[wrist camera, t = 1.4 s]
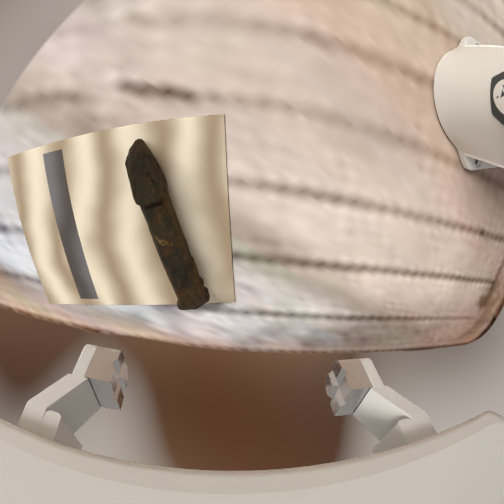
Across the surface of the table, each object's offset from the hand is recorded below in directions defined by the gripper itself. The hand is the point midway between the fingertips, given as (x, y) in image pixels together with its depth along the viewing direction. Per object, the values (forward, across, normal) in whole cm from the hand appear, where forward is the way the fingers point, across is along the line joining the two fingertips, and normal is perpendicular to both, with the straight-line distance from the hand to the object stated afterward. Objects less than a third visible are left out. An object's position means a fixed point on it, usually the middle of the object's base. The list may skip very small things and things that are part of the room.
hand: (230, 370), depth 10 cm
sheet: (+23, +13, +4) cm, 27 cm away
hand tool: (+22, +6, +3) cm, 24 cm away
